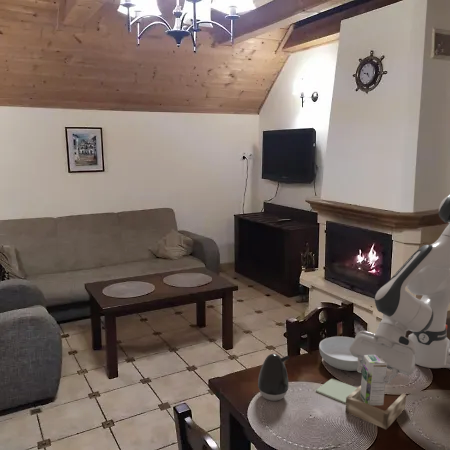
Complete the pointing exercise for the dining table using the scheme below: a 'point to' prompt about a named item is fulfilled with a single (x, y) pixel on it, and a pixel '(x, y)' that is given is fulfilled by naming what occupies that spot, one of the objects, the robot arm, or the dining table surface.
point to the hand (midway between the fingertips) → (372, 377)
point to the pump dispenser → (273, 378)
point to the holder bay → (374, 409)
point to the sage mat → (336, 390)
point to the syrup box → (373, 380)
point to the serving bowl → (339, 353)
